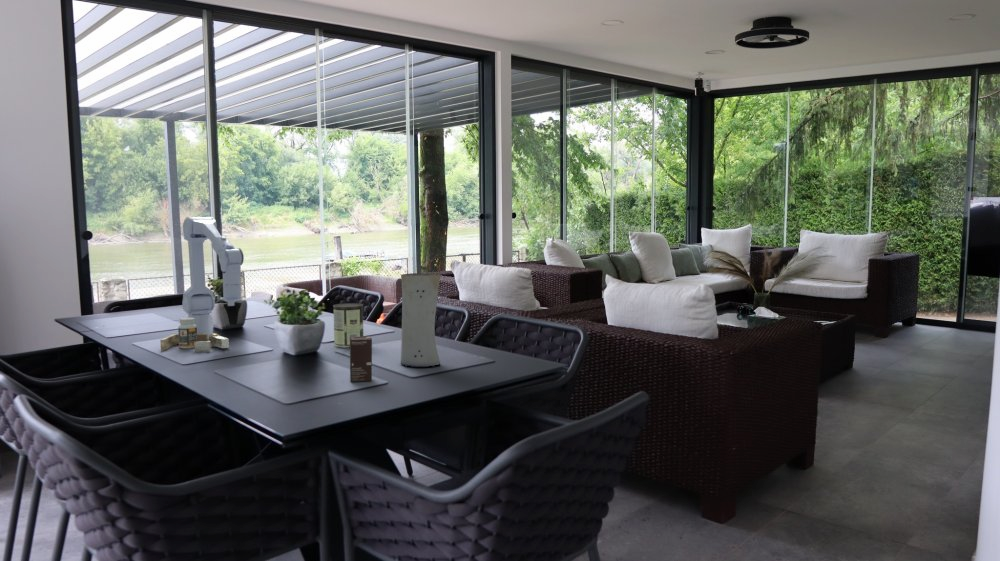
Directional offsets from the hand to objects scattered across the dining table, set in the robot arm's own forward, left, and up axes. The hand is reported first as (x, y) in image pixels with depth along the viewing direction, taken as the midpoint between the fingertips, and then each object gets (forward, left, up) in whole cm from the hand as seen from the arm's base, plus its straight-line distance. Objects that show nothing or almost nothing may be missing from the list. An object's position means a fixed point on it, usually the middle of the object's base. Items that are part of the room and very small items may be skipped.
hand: (233, 324), depth 246 cm
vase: (+26, +65, -8) cm, 71 cm away
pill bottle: (-1, -16, -8) cm, 18 cm away
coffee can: (-5, +38, -8) cm, 39 cm away
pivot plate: (-5, -8, -8) cm, 12 cm away
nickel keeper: (+4, -8, -8) cm, 12 cm away
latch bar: (-2, -6, -8) cm, 10 cm away
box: (+47, +49, -8) cm, 69 cm away
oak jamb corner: (-2, -17, -8) cm, 19 cm away
